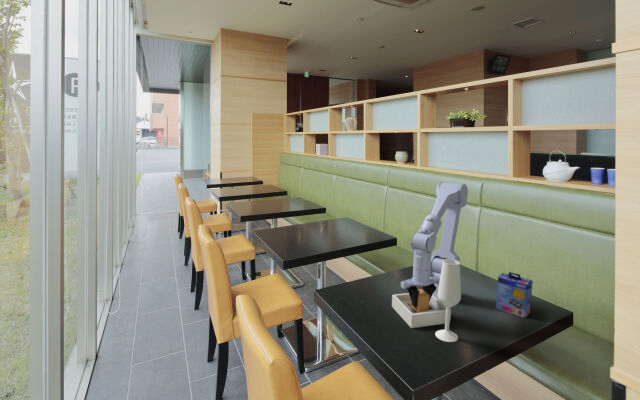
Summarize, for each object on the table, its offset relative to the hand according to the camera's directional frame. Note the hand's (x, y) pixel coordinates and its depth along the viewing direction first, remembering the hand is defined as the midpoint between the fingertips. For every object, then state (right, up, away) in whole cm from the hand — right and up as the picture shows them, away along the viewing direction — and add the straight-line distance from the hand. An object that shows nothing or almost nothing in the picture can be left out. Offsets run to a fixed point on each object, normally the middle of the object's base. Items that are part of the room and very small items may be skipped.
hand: (420, 305), depth 120 cm
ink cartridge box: (+33, -3, +3) cm, 34 cm away
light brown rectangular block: (0, -1, 0) cm, 2 cm away
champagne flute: (+5, -6, -12) cm, 15 cm away
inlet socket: (0, -3, +1) cm, 3 cm away
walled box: (0, -3, +1) cm, 3 cm away
